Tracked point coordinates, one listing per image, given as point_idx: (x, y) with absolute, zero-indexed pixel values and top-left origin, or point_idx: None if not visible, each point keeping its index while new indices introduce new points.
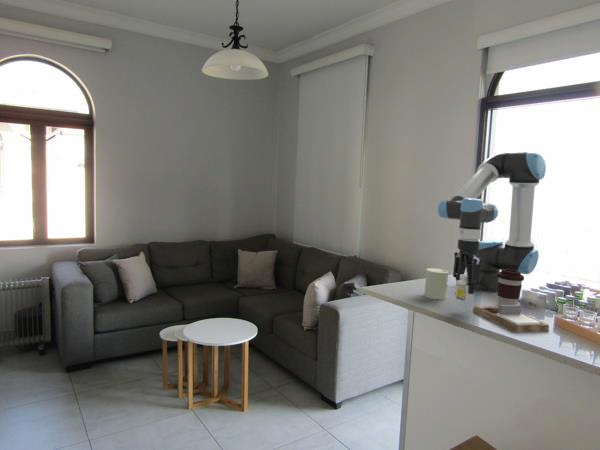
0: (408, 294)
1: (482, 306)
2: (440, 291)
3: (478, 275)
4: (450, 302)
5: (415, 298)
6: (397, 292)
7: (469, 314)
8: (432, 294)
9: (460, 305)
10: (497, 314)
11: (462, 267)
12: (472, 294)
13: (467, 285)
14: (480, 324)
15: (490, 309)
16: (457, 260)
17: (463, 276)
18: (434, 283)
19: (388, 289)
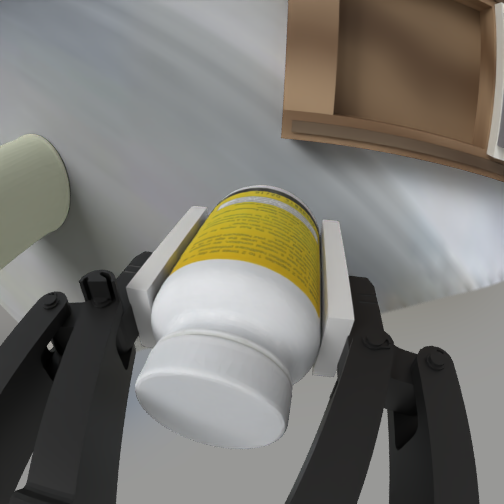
0: (38, 278)
1: (295, 71)
2: (39, 204)
3: (466, 463)
4: (105, 157)
5: (77, 288)
6: (31, 299)
7: (329, 197)
8: (50, 228)
9: (154, 129)
10: (494, 157)
11: (105, 482)
12: (343, 257)
13: (334, 373)
14: (463, 260)
15: (337, 39)
16: (2, 494)
17: (250, 443)
18: (11, 254)
19: (14, 303)
